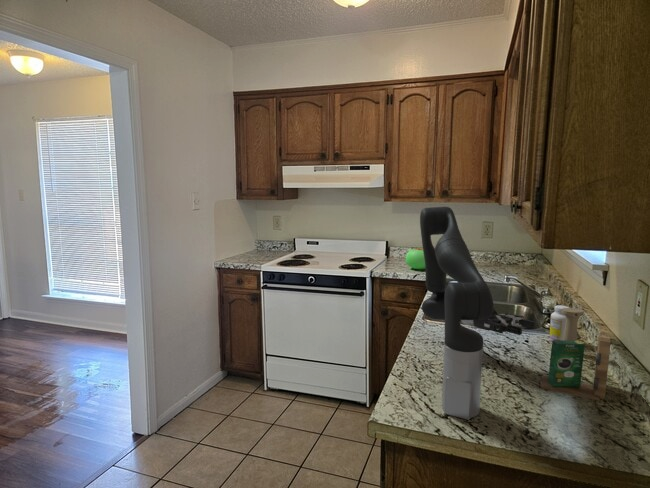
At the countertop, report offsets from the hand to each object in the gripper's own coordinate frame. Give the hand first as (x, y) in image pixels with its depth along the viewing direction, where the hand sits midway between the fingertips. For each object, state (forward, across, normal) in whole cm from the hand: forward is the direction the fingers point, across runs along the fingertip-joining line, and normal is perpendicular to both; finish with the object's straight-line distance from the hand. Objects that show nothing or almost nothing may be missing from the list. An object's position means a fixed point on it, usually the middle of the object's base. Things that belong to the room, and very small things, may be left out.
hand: (528, 328), depth 123 cm
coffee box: (+10, +1, +14) cm, 18 cm away
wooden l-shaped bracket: (+11, +4, +15) cm, 19 cm away
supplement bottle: (-4, +36, +14) cm, 39 cm away
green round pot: (-116, +97, +10) cm, 151 cm away
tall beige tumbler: (+2, +28, +14) cm, 31 cm away
